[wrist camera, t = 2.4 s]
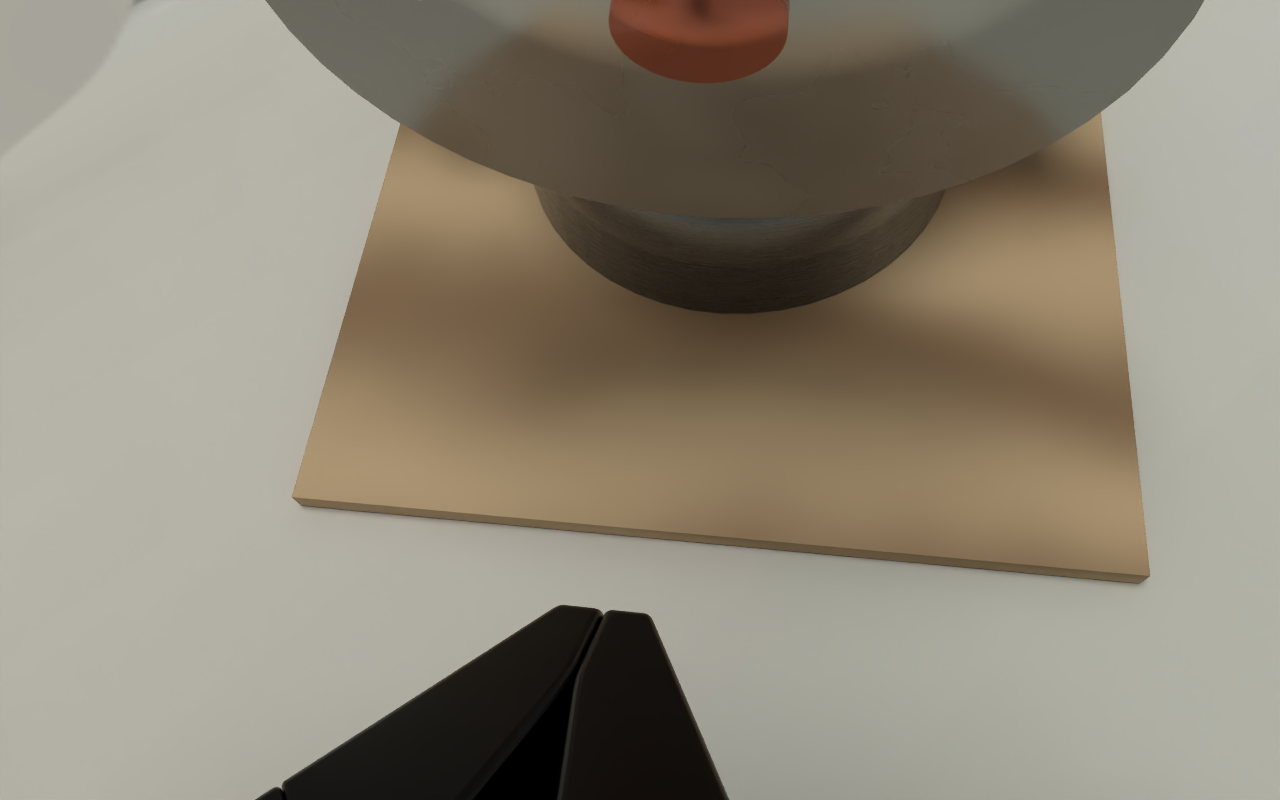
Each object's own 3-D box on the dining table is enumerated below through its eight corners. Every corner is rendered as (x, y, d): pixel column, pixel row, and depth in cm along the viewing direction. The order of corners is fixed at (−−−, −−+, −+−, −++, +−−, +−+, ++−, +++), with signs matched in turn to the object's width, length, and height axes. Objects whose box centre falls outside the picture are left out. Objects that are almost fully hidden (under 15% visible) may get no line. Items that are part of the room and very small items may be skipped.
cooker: (1061, 335, 24) (1157, 181, 19) (405, 293, 26) (323, 143, 21) (1035, -10, 29) (1105, -209, 24) (488, -23, 31) (440, -208, 26)
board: (1139, 583, 22) (1149, 576, 21) (301, 505, 24) (291, 496, 24) (1068, -124, 32) (1073, -141, 32) (482, -129, 35) (478, -145, 34)
